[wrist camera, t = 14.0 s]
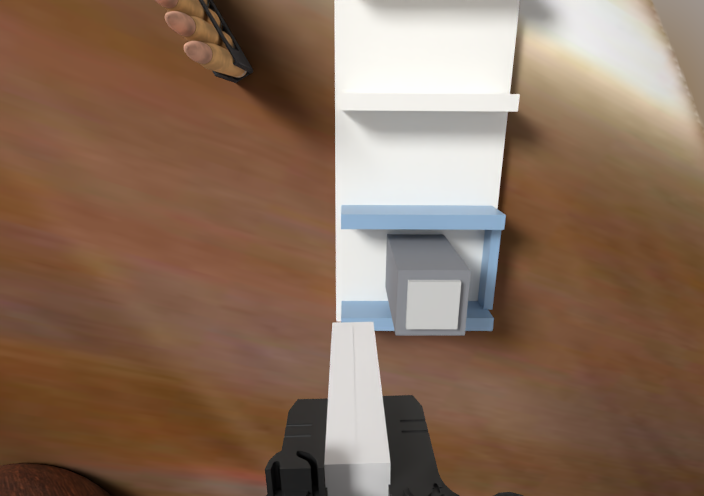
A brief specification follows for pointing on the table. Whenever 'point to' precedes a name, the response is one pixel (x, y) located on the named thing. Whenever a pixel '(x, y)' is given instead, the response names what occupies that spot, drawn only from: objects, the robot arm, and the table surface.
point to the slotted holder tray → (420, 140)
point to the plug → (426, 285)
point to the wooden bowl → (45, 482)
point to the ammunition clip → (207, 37)
